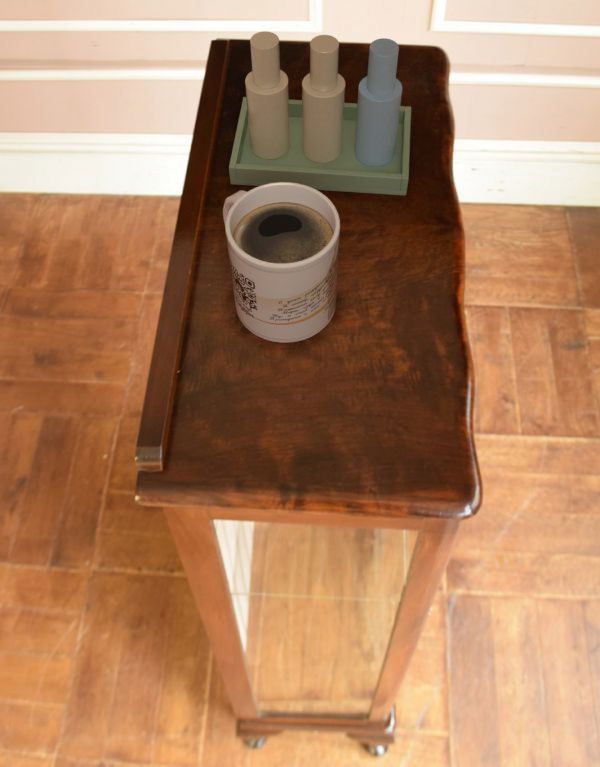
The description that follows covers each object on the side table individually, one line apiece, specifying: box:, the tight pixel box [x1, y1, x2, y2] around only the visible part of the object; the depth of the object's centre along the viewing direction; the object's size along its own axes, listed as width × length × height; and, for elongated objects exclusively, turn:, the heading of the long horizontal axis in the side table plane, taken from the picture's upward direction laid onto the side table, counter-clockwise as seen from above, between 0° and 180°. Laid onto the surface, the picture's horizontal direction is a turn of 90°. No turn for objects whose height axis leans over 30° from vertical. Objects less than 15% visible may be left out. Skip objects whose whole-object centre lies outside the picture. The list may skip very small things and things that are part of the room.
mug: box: [222, 182, 341, 344], centre depth 71 cm, size 10×12×11 cm
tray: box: [228, 96, 412, 196], centre depth 85 cm, size 19×11×2 cm, turn 84°
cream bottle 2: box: [301, 34, 346, 163], centre depth 80 cm, size 4×4×13 cm
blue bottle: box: [354, 37, 403, 167], centre depth 80 cm, size 4×4×13 cm
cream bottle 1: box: [244, 31, 290, 159], centre depth 80 cm, size 4×4×13 cm
